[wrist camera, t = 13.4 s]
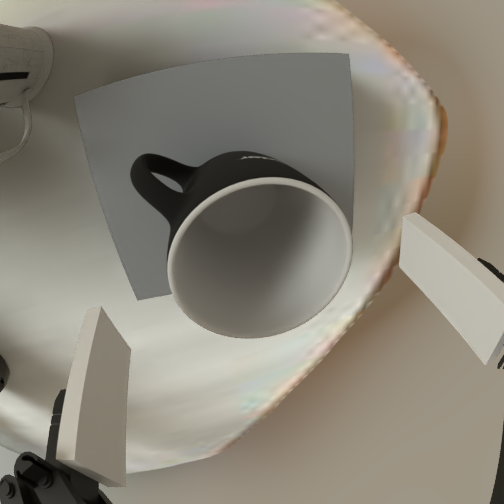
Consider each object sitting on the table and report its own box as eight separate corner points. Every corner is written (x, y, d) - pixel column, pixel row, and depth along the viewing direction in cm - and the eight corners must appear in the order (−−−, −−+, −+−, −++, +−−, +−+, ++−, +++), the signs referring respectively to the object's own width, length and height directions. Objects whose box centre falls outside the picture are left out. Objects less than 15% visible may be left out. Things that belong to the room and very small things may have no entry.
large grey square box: (144, 256, 32) (135, 303, 26) (100, 90, 22) (68, 93, 16) (321, 221, 34) (353, 258, 28) (312, 56, 24) (352, 50, 18)
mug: (314, 178, 23) (385, 241, 14) (248, 264, 26) (279, 356, 17) (181, 90, 18) (171, 89, 9) (118, 197, 21) (77, 276, 12)
